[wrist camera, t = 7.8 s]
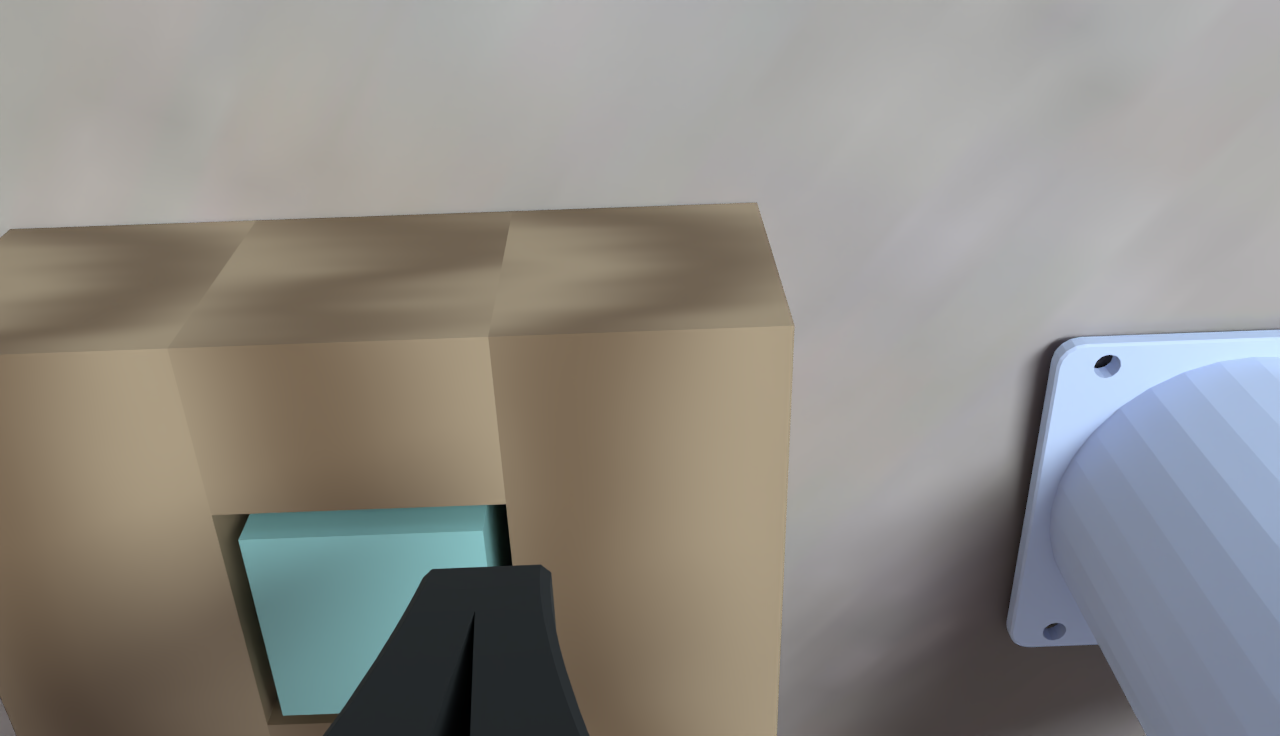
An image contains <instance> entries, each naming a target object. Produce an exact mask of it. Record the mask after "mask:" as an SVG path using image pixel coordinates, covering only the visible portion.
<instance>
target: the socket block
mask: <svg viewBox="0 0 1280 736" xmlns="http://www.w3.org/2000/svg"><path fill="white" fill-rule="evenodd" d="M793 348H794V323H793V319H792V316H791V313H790V309H789V306H788V303H787V300H786V296H785V293H784V290H783V286H782V283H781V280H780V277H779V273H778V270H777V267H776V264H775V260H774V257H773V254H772V250H771V247H770V244H769V241H768V237H767V234H766V231H765V228H764V224H763V221H762V218H761V214H760V211H759V208H758V205H757V203H733V204H705V205H677V206H649V207H621V208H593V209H565V210H537V211H509V212H481V213H453V214H425V215H397V216H369V217H341V218H313V219H285V220H257V221H229V222H201V223H173V224H145V225H117V226H89V227H61V228H33V229H10V230H9V231H8V232H7V233H5V234H4V235H3V236H2V237H1V238H0V698H1V700H2V702H3V705H4V707H5V709H6V712H7V714H8V717H9V719H10V721H11V724H12V726H13V729H14V731H15V733H16V736H323V735H324V733H325V732H326V731H327V729H328V728H329V727H330V725H331V724H332V723H333V721H334V720H335V719H336V717H337V716H338V714H339V713H338V714H312V715H286V716H283V714H282V710H281V706H280V702H279V698H278V694H277V690H276V686H275V682H274V678H273V675H272V671H271V667H270V663H269V659H268V655H267V651H266V647H265V643H264V639H263V635H262V631H261V627H260V623H259V620H258V616H257V612H256V608H255V604H254V600H253V596H252V592H251V588H250V584H249V580H248V576H247V572H246V568H245V565H244V561H243V557H242V553H241V549H240V545H239V541H238V540H239V537H240V535H241V533H242V531H243V528H244V526H245V524H246V522H247V519H248V517H249V515H250V514H258V513H284V512H311V511H338V510H364V509H391V508H418V507H444V506H471V505H498V504H506V509H507V518H508V528H509V537H510V546H511V556H512V565H513V566H516V565H540V564H541V565H542V566H544V567H545V568H546V569H547V570H549V571H550V572H551V574H552V585H553V597H554V609H555V620H556V632H557V637H558V641H559V645H560V650H561V653H562V657H563V660H564V664H565V667H566V671H567V674H568V677H569V680H570V683H571V686H572V689H573V692H574V695H575V698H576V701H577V704H578V707H579V710H580V712H581V715H582V717H583V720H584V723H585V725H586V728H587V730H588V733H589V735H590V736H777V718H778V694H779V671H780V648H781V625H782V602H783V579H784V556H785V533H786V510H787V487H788V463H789V440H790V417H791V394H792V371H793Z"/></svg>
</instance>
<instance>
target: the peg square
mask: <svg viewBox="0 0 1280 736" xmlns="http://www.w3.org/2000/svg"><path fill="white" fill-rule="evenodd" d="M238 541H239V545H240V549H241V553H242V557H243V561H244V565H245V568H246V572H247V576H248V580H249V584H250V588H251V592H252V596H253V600H254V604H255V608H256V612H257V616H258V620H259V623H260V627H261V631H262V635H263V639H264V643H265V647H266V651H267V655H268V659H269V663H270V667H271V671H272V675H273V678H274V682H275V686H276V690H277V694H278V698H279V702H280V706H281V710H282V714H283V716H286V715H312V714H338V713H340V712H341V710H342V709H343V707H344V706H345V705H346V703H347V702H348V700H349V699H350V697H351V696H352V694H353V693H354V691H355V690H356V688H357V687H358V685H359V684H360V682H361V681H362V679H363V678H364V676H365V675H366V673H367V672H368V670H369V669H370V667H371V666H372V664H373V663H374V661H375V660H376V658H377V656H378V655H379V653H380V652H381V650H382V648H383V647H384V645H385V644H386V642H387V640H388V639H389V637H390V635H391V634H392V632H393V631H394V629H395V627H396V625H397V624H398V622H399V620H400V619H401V617H402V615H403V613H404V612H405V610H406V608H407V606H408V605H409V603H410V601H411V599H412V597H413V596H414V594H415V592H416V590H417V588H418V586H419V584H420V582H421V580H422V578H423V577H424V576H425V575H426V574H427V573H428V572H429V571H430V570H431V569H443V568H468V567H492V566H513V565H512V556H511V546H510V537H509V528H508V518H507V509H506V504H498V505H471V506H444V507H418V508H391V509H364V510H338V511H311V512H284V513H258V514H250V515H249V517H248V519H247V522H246V524H245V526H244V528H243V531H242V533H241V535H240V537H239V540H238Z"/></svg>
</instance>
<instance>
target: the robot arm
mask: <svg viewBox="0 0 1280 736" xmlns="http://www.w3.org/2000/svg"><path fill="white" fill-rule="evenodd" d="M1106 355H1113V358H1112V360H1111V362H1110V363H1108V364H1107V365H1106V366H1105V367H1101V368H1094V366H1095V364H1096V362H1097V361H1098V360H1099V359H1100V358H1101V357H1103V356H1106ZM1053 623H1058V624H1057V625H1055V626H1054V627H1051V628H1045V627H1047V626H1048V625H1050V624H1053ZM1006 624H1007V630H1008V632H1009V635H1010V637H1011V639H1012V640H1013V641H1014V643H1016V644H1017V645H1019V646H1023V647H1047V646H1073V645H1099V647H1100V649H1101V650H1102V652H1103V654H1104V656H1105V658H1106V660H1107V662H1108V664H1109V666H1110V667H1111V669H1112V671H1113V673H1114V675H1115V677H1116V679H1117V681H1118V683H1119V685H1120V686H1121V688H1122V690H1123V692H1124V694H1125V696H1126V698H1127V700H1128V702H1129V703H1130V705H1131V707H1132V709H1133V711H1134V713H1135V715H1136V717H1137V719H1138V721H1139V722H1140V724H1141V726H1142V728H1143V730H1144V732H1145V734H1146V736H1280V330H1256V331H1229V332H1201V333H1174V334H1147V335H1119V336H1092V337H1077V338H1073V339H1069V340H1068V341H1066V342H1064V343H1062V344H1061V345H1060V346H1059V347H1058V348H1057V349H1056V351H1055V352H1054V355H1053V357H1052V360H1051V366H1050V371H1049V377H1048V383H1047V389H1046V395H1045V401H1044V406H1043V412H1042V418H1041V424H1040V430H1039V436H1038V441H1037V447H1036V453H1035V459H1034V465H1033V471H1032V476H1031V482H1030V488H1029V494H1028V500H1027V506H1026V511H1025V517H1024V523H1023V529H1022V535H1021V541H1020V546H1019V552H1018V558H1017V564H1016V570H1015V576H1014V581H1013V587H1012V593H1011V599H1010V605H1009V611H1008V616H1007V622H1006ZM323 736H590V735H589V733H588V730H587V728H586V725H585V723H584V720H583V717H582V715H581V712H580V710H579V707H578V704H577V701H576V698H575V695H574V692H573V689H572V686H571V683H570V680H569V677H568V674H567V671H566V667H565V664H564V660H563V657H562V653H561V650H560V645H559V641H558V637H557V632H556V620H555V609H554V597H553V585H552V574H551V572H550V571H549V570H547V569H546V568H545V567H544V566H542V565H541V564H540V565H516V566H492V567H468V568H443V569H431V570H430V571H429V572H428V573H427V574H426V575H425V576H424V577H423V578H422V580H421V582H420V584H419V586H418V588H417V590H416V592H415V594H414V596H413V597H412V599H411V601H410V603H409V605H408V606H407V608H406V610H405V612H404V613H403V615H402V617H401V619H400V620H399V622H398V624H397V625H396V627H395V629H394V631H393V632H392V634H391V635H390V637H389V639H388V640H387V642H386V644H385V645H384V647H383V648H382V650H381V652H380V653H379V655H378V656H377V658H376V660H375V661H374V663H373V664H372V666H371V667H370V669H369V670H368V672H367V673H366V675H365V676H364V678H363V679H362V681H361V682H360V684H359V685H358V687H357V688H356V690H355V691H354V693H353V694H352V696H351V697H350V699H349V700H348V702H347V703H346V705H345V706H344V707H343V709H342V710H341V712H340V713H339V714H338V716H337V717H336V719H335V720H334V721H333V723H332V724H331V725H330V727H329V728H328V729H327V731H326V732H325V733H324V735H323Z"/></svg>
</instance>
